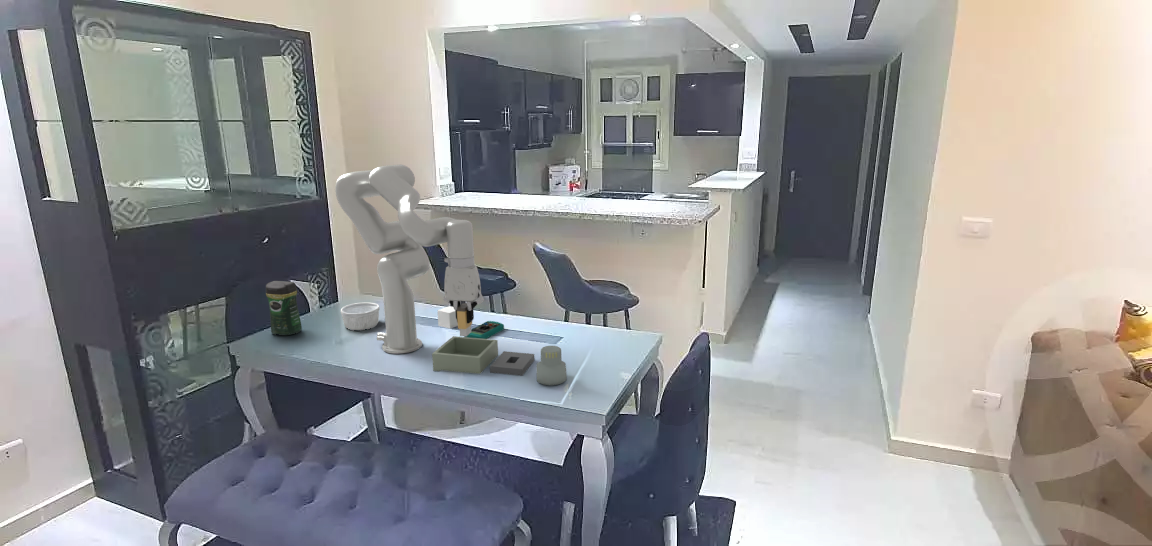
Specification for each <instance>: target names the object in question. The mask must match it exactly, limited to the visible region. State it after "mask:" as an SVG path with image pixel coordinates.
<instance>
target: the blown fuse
mask: <svg viewBox="0 0 1152 546" xmlns="http://www.w3.org/2000/svg"><path fill="white" fill-rule="evenodd" d="M466 311H467V302H463V303H461V305H460V306H459V307H457V319H458V326H457V329H458V330H459V337H464V336H467V335H469V334H470V333H471V329H472V325H473V321H471V322H470V323H467V315H466Z"/></svg>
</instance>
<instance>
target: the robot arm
mask: <svg viewBox="0 0 1152 546" xmlns="http://www.w3.org/2000/svg"><path fill="white" fill-rule="evenodd" d="M415 182H416V177H415V174H414V172H413V171H412V170H411V168H410V167H408V166H407V165H404V164H393V165H381V166H378V167H375V168H374V169H369V170H359V171H351V172H348V173H344V174H342V175H340V176H339V177H338V178H337V180H336V182H335V189H334V192H335V196H336V199H337V202H338V204H339V207H340V208H341V209H342V210H343V212H344V213H345V214H346V216H347V217H348V218H349V219H350V220H351V222H352V224H353V225H354V227H355V228H356V230H357V232H358V233H359V235H360V237H361V239H362V240H363V242H364V244H365V246H367V248H368V250H369V251H370V252H371V253H372V254H375V255H383V254H387V253H388V254H387V255H384V256H382V258H380V260H379V261H378V263H377V265H376V266H377V267H376V268H377V269H376V270H377V276H378V278H379V282H380V286H381V291H382V292H381V293H382V300H383V301H382V302H383V308H384V309H383V311H384V321H385V332H377V334H376V341H382V342H383V344H382V350H383V351H384V352H385V353H388V354H398V355H399V354H407V353H412V352H415V351H418V350H419V349H420V348H421V347H422V346H423V341H422V340H421V339H420V338H418V336H417V335H418V334H417V322H416V321H417V320H416V308H415V296H414V295H415V294H414V291H413V289H412V287H411V286H410V285H409V283H408V281H410V280H412V279H415V278H419V277H421V276H425V274H427V272H428V271H429V270H430V264H431V263H430V260H429V256H428V254H427V252H426V250H425V249H424V247H433V246H437V245H440V244H447V245H446V246H447V257H444V259H443V261H444V263H447V266H446V267H445V272H444V290H443V291H444V296H443V301H444V302H446V303H449V304H450V305H451V307H453V308H454V310H455V312H456V319H457V307H459V306H460V305H462V302H466V303H467V311H466V315H467V323H470V322H471V321H472V322H473V321H474V319H475V318H474V317H475V313H474V309H475V308H476V307H477V306H478V305H480V304H482V303H483V302H485V299H484V298H485V297H484V296H483V295H482V287H481V280H480V274H479V269H478V266H477V265H476V263H475V249H474V248H475V247H474V245H475V244H474V232H473V231H474V229H473V223H472V222H471V221H470V220H467V219H457V218H452V217H450V216H442V217H436V218H431V219H427V220H424V219H422V218H421V217H420V216H419V215H418V214H417V213H415V209H416V208H417V207H418V205H419V203H420V201H421V194H420V192H419V191H418V190H417V189H415V188H414V186H415ZM380 196H381V198H383V199H384V200H385V201H386V202H387V203H388V204H390V205H391V206H392V207H393V209H395V210H396V211H397V218H398V220H395V221H390V222H386V221H385V219H383V217H382V216H381V214H380V212H379V211H378V209H377V208H376V207H374V206H373V205H372V204H371V203H369V202H368V201H366V200H365V199H366V198H371V197H372V198H373V197H380ZM457 323H458V319H457Z"/></svg>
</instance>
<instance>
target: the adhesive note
mask: <svg viewBox="0 0 1152 546" xmlns="http://www.w3.org/2000/svg"><path fill="white" fill-rule="evenodd" d="M437 324H438V326H437V327H442V328H446V329H453V328H455V327H458V323H457V319H456V312H455V310H454V308H453V306H452V305H451V306H450V305H448V306H446V307H443V308H439V309H437Z"/></svg>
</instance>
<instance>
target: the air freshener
mask: <svg viewBox="0 0 1152 546" xmlns="http://www.w3.org/2000/svg"><path fill="white" fill-rule="evenodd" d="M567 375H568V374H567V365H566V362H565V361H564V360H562V348H561V347H559V346H557V345H545V346H543V347H542V348H541V349H540V361H538V362H537V363H536V381H537V383H539V384H541V385H544V386H558V385H561V384H564V383H565V382H566V381H567V377H568V376H567Z"/></svg>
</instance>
